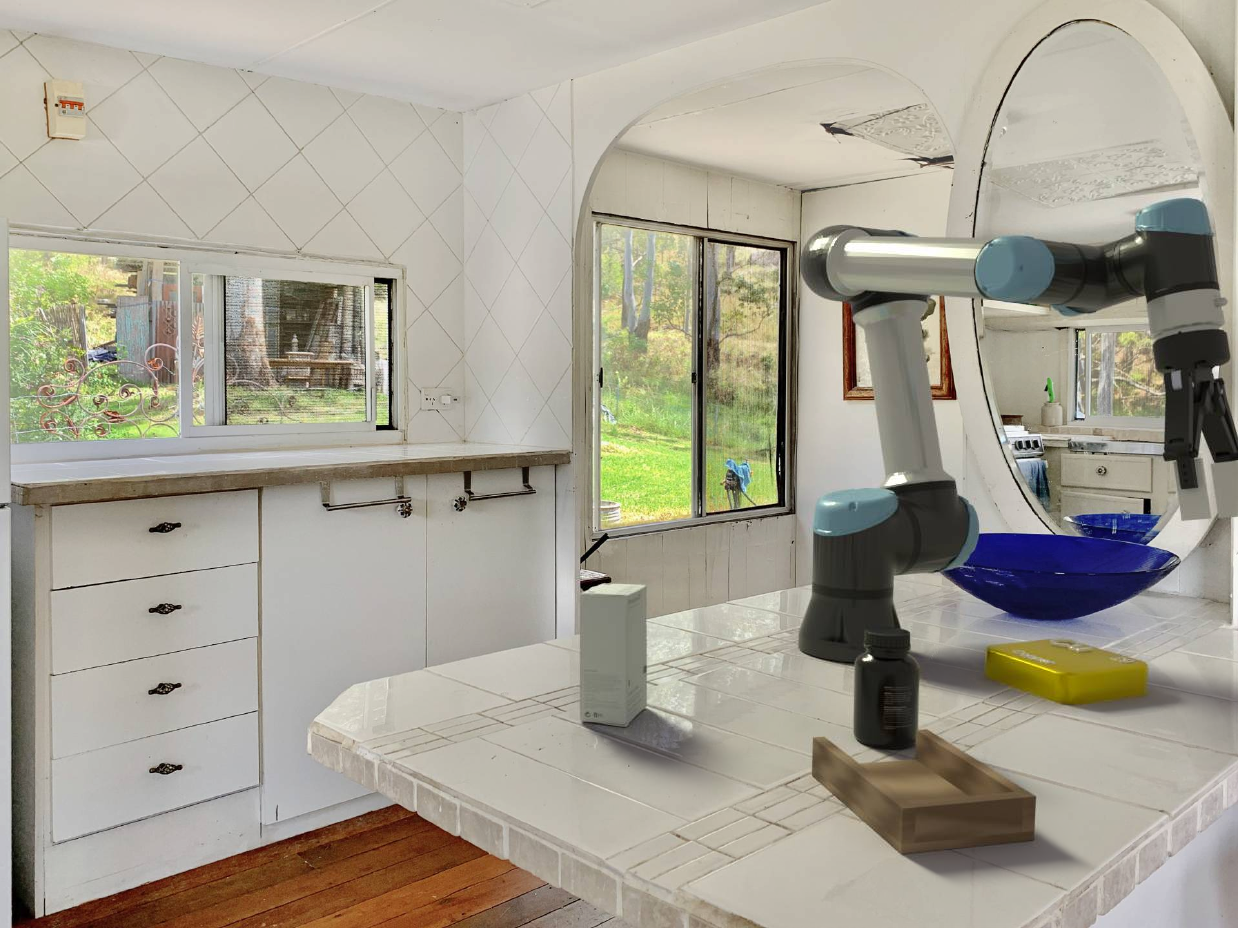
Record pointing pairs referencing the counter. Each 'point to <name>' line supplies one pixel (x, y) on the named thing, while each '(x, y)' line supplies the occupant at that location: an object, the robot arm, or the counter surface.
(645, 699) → the skincare box
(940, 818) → the u rest
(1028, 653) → the element tile
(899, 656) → the supplement bottle
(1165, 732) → the counter surface
